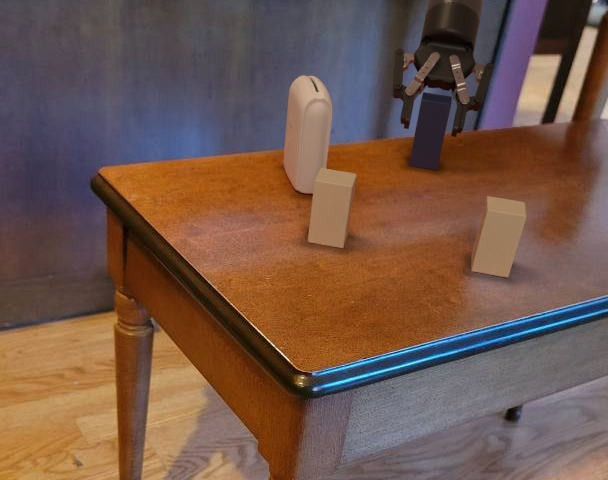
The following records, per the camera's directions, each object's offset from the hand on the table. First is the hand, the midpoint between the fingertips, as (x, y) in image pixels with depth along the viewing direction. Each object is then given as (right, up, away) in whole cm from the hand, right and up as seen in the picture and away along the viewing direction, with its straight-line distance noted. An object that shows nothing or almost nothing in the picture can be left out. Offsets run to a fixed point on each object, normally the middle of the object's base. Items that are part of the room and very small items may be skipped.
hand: (430, 129), depth 101 cm
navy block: (0, -3, +5) cm, 6 cm away
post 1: (-15, -19, -18) cm, 30 cm away
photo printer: (-18, -9, -5) cm, 20 cm away
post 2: (+3, -22, -20) cm, 30 cm away
